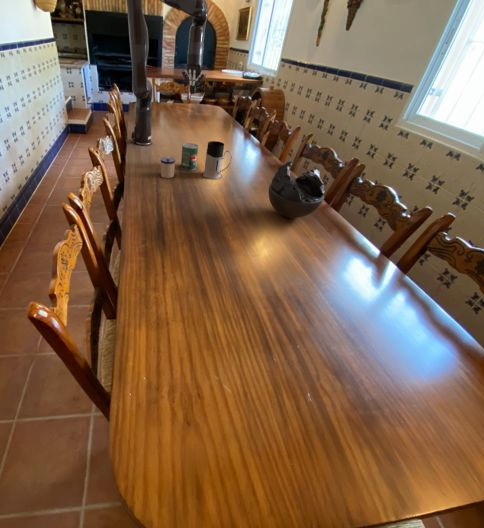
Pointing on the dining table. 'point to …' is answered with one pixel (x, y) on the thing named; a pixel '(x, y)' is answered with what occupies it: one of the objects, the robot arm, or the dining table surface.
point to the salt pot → (167, 167)
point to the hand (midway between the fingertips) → (192, 93)
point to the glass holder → (214, 160)
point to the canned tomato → (189, 156)
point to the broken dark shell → (296, 192)
